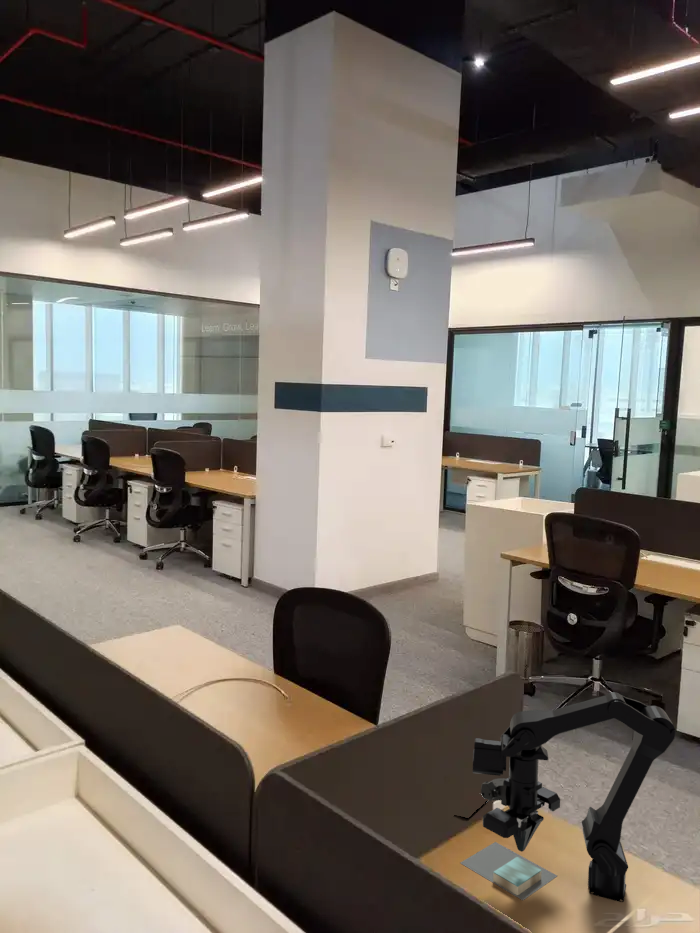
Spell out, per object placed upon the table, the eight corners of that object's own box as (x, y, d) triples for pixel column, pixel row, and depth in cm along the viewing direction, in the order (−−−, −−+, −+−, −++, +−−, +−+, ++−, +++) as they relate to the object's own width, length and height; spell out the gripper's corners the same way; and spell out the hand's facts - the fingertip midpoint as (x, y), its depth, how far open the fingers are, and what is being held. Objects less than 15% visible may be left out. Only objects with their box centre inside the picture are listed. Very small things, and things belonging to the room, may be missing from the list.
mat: (557, 878, 155) (557, 875, 155) (522, 903, 147) (522, 900, 147) (495, 844, 167) (495, 841, 167) (459, 865, 159) (459, 862, 159)
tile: (541, 869, 154) (517, 885, 149) (541, 879, 154) (517, 895, 149) (517, 856, 158) (493, 871, 153) (517, 865, 159) (493, 881, 153)
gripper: (518, 749, 165) (516, 818, 166) (462, 776, 153) (460, 849, 154) (562, 768, 156) (560, 840, 158) (507, 797, 144) (504, 875, 146)
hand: (521, 850), depth 154 cm, fingers closed
